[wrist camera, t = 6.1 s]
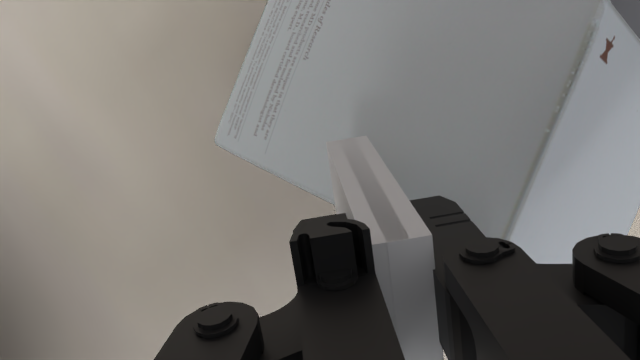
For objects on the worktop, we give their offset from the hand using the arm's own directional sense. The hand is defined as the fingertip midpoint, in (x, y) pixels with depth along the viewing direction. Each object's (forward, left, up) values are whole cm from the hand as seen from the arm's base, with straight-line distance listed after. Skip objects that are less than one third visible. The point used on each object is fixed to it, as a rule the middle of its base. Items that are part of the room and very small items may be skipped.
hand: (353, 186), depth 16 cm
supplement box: (0, +1, -10) cm, 10 cm away
